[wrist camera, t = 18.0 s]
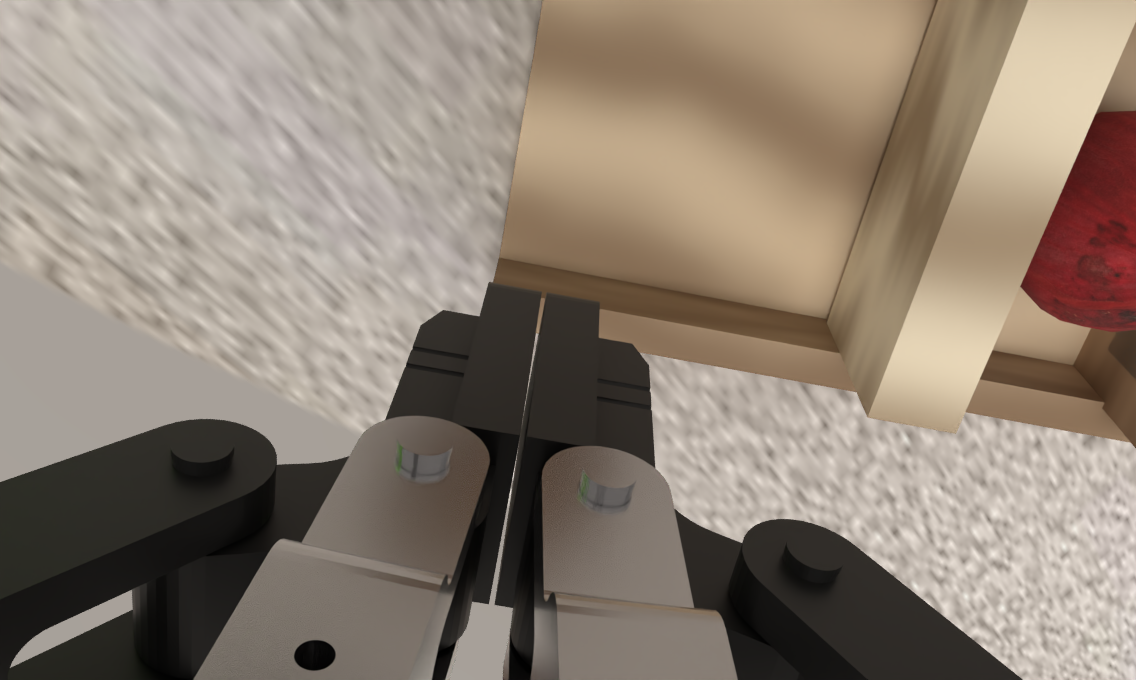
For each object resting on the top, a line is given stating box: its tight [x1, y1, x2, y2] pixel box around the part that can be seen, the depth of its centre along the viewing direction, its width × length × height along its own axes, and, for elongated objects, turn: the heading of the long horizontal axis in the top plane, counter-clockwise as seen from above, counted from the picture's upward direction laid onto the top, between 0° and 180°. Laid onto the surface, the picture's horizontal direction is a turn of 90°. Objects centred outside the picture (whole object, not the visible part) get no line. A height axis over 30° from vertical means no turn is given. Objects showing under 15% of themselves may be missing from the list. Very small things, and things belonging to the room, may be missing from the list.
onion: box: [1020, 111, 1136, 332], centre depth 27 cm, size 6×6×8 cm
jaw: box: [827, 0, 1136, 434], centre depth 27 cm, size 12×2×6 cm, turn 169°
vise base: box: [493, 0, 1136, 448], centre depth 28 cm, size 14×22×7 cm, turn 79°
